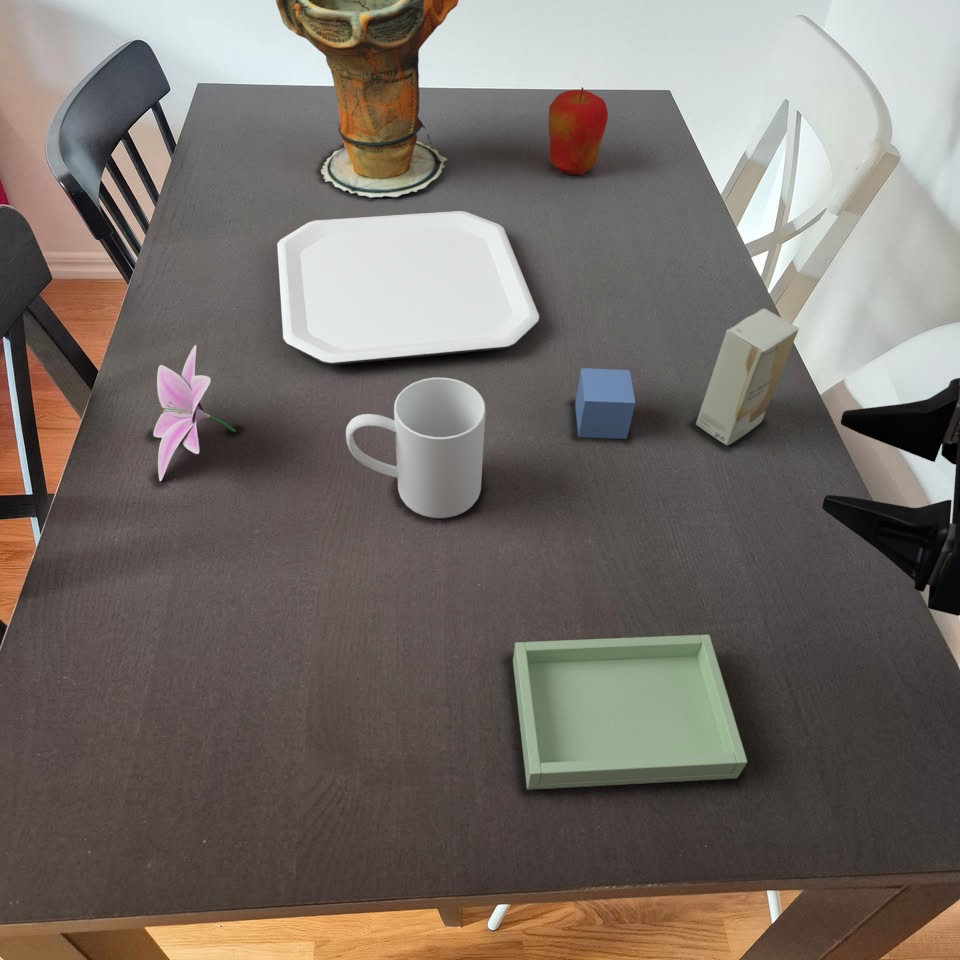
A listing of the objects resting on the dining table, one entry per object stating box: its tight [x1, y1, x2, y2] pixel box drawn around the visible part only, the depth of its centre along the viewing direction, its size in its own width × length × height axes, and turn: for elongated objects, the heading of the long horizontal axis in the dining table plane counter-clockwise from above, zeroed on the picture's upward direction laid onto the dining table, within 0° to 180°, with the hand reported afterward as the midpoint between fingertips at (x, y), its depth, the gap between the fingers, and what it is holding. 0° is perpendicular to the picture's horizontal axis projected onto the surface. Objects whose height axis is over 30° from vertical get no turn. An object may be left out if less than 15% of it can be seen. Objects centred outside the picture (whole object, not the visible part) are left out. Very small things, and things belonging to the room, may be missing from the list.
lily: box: [152, 344, 237, 482], centre depth 80 cm, size 12×12×10 cm
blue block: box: [574, 367, 636, 440], centre depth 85 cm, size 5×5×5 cm
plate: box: [276, 210, 541, 366], centre depth 100 cm, size 29×29×2 cm
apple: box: [548, 87, 609, 176], centre depth 119 cm, size 9×8×12 cm
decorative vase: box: [275, 0, 459, 199], centre depth 111 cm, size 21×23×28 cm
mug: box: [345, 377, 486, 519], centre depth 75 cm, size 12×8×10 cm, turn 99°
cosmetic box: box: [695, 308, 800, 446], centre depth 83 cm, size 6×4×12 cm
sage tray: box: [512, 634, 748, 791], centre depth 63 cm, size 16×11×3 cm
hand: (833, 457), depth 59 cm, fingers open, 9 cm apart
